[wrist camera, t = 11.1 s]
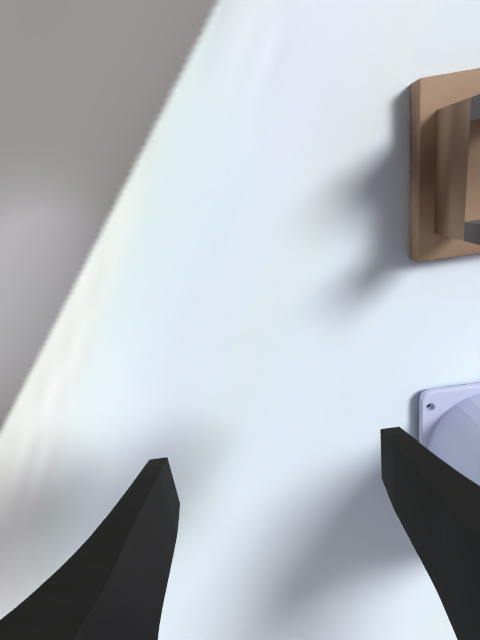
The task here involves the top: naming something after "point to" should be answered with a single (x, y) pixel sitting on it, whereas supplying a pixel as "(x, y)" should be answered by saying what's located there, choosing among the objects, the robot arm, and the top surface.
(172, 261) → the top surface
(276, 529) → the top surface
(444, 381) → the top surface
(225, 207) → the top surface
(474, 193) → the stand
